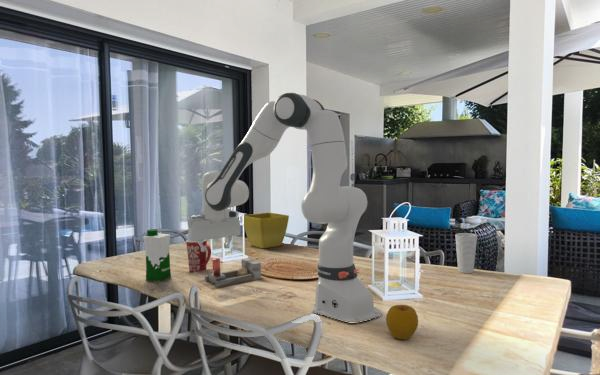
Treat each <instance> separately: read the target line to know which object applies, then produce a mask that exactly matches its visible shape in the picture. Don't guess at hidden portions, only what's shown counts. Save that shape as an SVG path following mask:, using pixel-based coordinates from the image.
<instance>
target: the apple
mask: <svg viewBox="0 0 600 375" xmlns="http://www.w3.org/2000/svg"><path fill="white" fill-rule="evenodd" d="M385 323H386V326H387V329H388V331H389V332H390V334H391V336H392V337H393V338H394V337H395V339H396V338H398V339H397V340H406V339H405V338H408V339H410V338H412V336H413V335H414V333H416V331H417V330H418V325H419V315H418V313H417V312H416V310H415V308H413V307H412V306H410V305H407V304H396V305H393V306H390V308H389V309H388V311H387V313H386V316H385Z"/></svg>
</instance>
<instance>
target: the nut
mask: <svg viewBox="0 0 600 375" xmlns="http://www.w3.org/2000/svg"><path fill="white" fill-rule="evenodd" d="M237 270H238V275H239V276H243V275H247V274H248V271H247V269H246V268H244V267H242V266H241V267H239V269H237Z"/></svg>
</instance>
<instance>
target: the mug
mask: <svg viewBox="0 0 600 375" xmlns="http://www.w3.org/2000/svg"><path fill="white" fill-rule="evenodd" d="M207 241H208V240H203V243H202V244H203V246H205V247H206V252H201V247H200V245H199V244H198V241H191V240H190V239H189V238H188V239H186V240H185V243H186V249H187V250H186V252H187V253H186V254H187V262H188V270H189V272H190V273H196V272H198V273H199V272H204V271H207V265H208V262H210V259H211V256H212V249H211V246H210V245H209V244H207Z"/></svg>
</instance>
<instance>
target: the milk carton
mask: <svg viewBox="0 0 600 375" xmlns="http://www.w3.org/2000/svg"><path fill="white" fill-rule="evenodd" d="M142 239H143V243H144V248H145V267H146V268H145V281H147V280H153V281H152V282H158V281H161V282H163V281H165V280H164V279H166V278H168V277H170V278H172V274H171V262H170V260H171V259H170V239H171V234H170V233H169V234H167V233H158V229H156V228H155V229H152V228H151V229H147V230H146V235H144V236H143V237H142ZM168 279H169V278H168ZM162 280H163V281H162ZM166 280H167V279H166Z"/></svg>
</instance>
